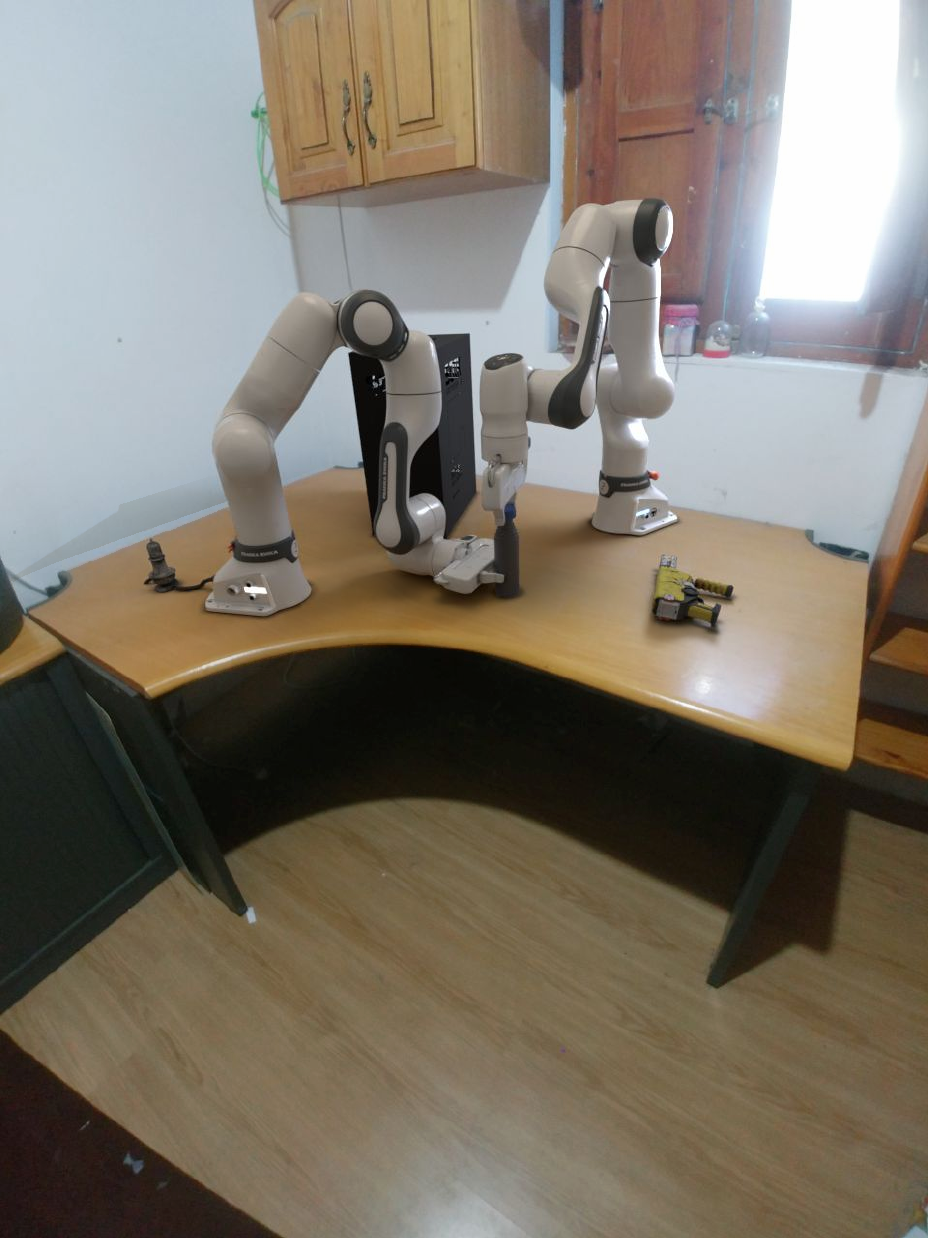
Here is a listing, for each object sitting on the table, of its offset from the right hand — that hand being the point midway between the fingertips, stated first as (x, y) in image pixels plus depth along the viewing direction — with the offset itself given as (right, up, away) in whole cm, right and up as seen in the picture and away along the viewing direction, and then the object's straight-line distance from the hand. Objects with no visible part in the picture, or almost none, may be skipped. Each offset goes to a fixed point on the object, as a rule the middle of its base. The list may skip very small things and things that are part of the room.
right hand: (505, 517), depth 121 cm
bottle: (+1, -15, +8) cm, 17 cm away
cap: (0, +1, -1) cm, 2 cm away
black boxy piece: (-19, +10, +54) cm, 58 cm away
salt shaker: (-78, -13, +19) cm, 81 cm away
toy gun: (+38, -16, +1) cm, 41 cm away
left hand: (+1, -10, +5) cm, 12 cm away
